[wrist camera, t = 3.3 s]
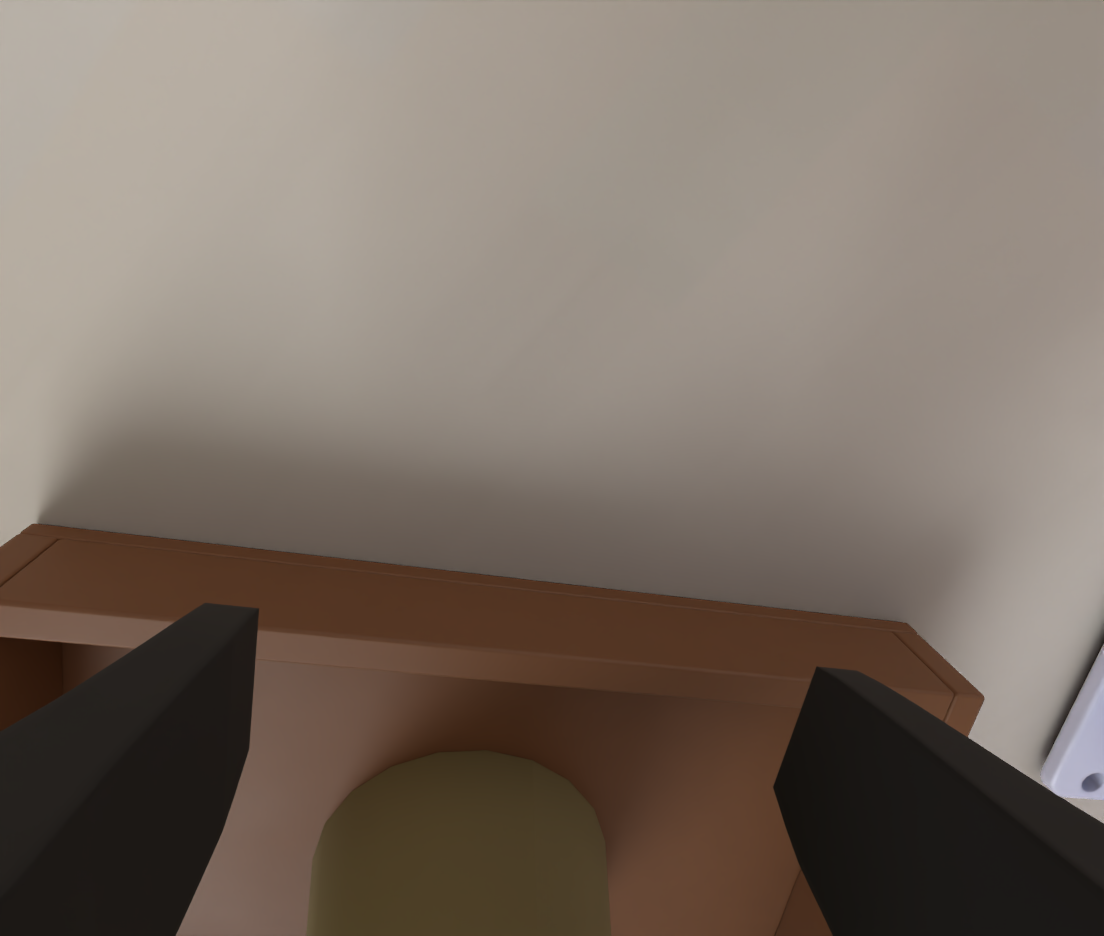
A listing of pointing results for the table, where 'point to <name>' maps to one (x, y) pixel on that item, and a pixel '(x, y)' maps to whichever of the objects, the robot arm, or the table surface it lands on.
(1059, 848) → the robot arm
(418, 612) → the tray
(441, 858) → the olive rounded cylinder
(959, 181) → the table surface
